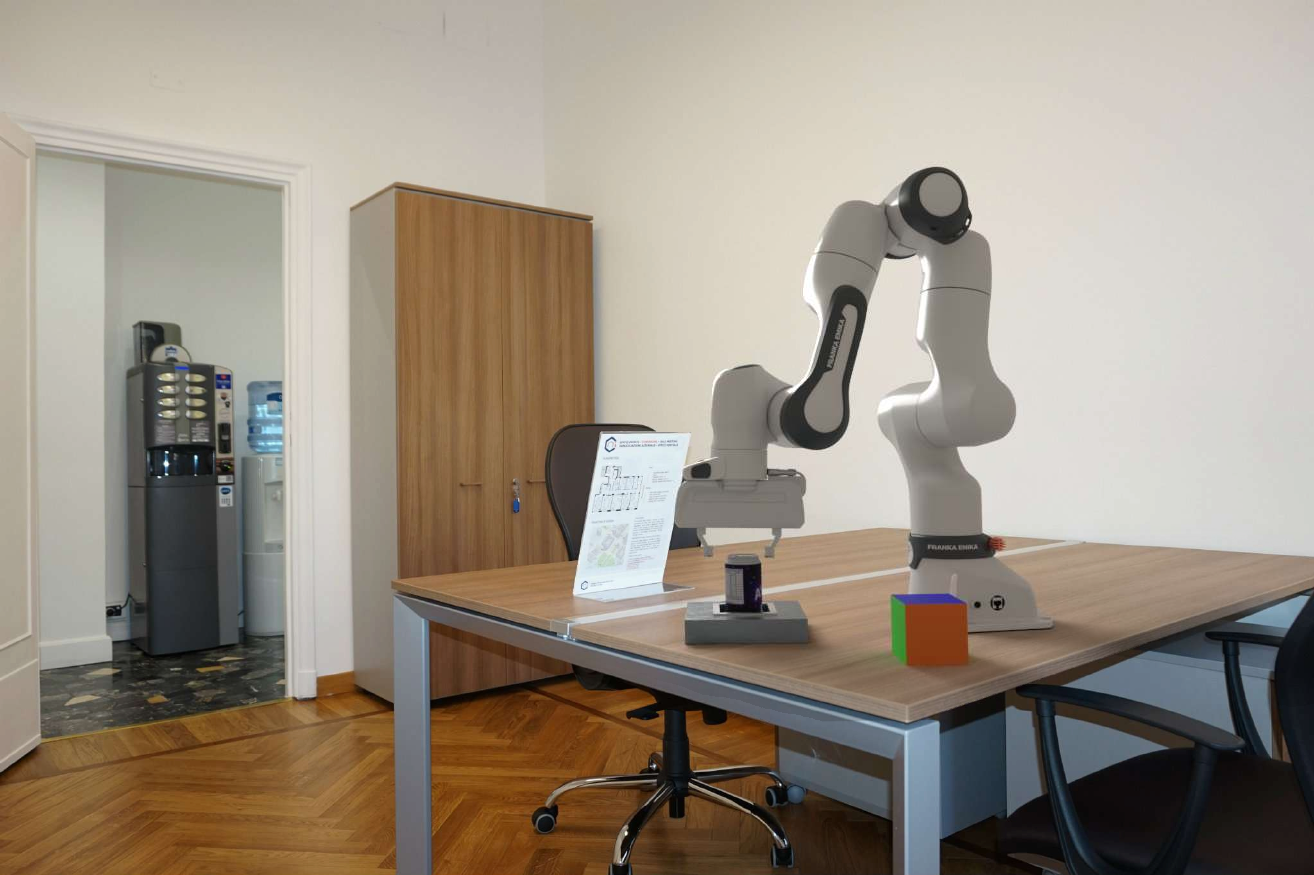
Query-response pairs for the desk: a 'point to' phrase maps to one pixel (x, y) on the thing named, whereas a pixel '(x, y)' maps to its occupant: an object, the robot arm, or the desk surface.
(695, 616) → the housing
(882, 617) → the desk surface
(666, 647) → the desk surface
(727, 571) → the beverage can
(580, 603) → the desk surface
